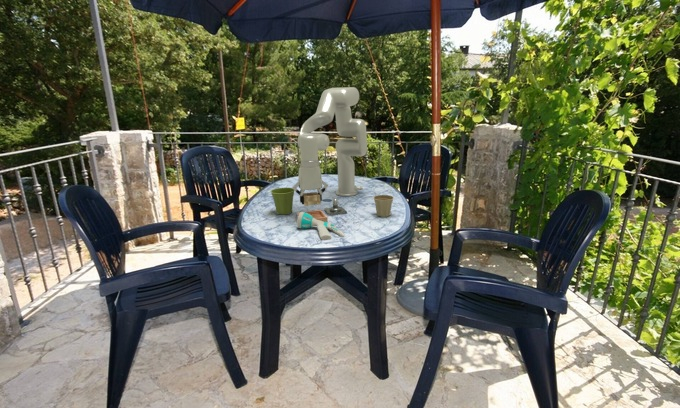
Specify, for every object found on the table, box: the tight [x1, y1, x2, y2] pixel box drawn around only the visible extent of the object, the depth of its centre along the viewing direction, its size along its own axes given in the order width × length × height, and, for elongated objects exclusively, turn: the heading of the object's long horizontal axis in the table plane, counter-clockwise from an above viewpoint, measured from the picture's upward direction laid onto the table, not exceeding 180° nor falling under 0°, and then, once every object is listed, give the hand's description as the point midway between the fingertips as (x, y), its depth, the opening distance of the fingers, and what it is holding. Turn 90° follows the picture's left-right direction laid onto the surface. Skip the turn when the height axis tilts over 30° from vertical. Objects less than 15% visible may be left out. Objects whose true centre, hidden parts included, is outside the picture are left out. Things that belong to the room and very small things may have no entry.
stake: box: [323, 198, 348, 216], centre depth 169 cm, size 9×9×6 cm
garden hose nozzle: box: [296, 211, 345, 241], centre depth 145 cm, size 7×18×20 cm
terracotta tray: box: [296, 209, 328, 222], centre depth 159 cm, size 12×12×2 cm
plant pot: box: [270, 187, 296, 216], centre depth 168 cm, size 12×12×11 cm
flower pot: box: [373, 194, 395, 218], centre depth 162 cm, size 9×9×9 cm
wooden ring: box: [303, 191, 321, 207], centre depth 157 cm, size 7×7×4 cm
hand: (311, 202), depth 157 cm, fingers closed on wooden ring, 7 cm apart
